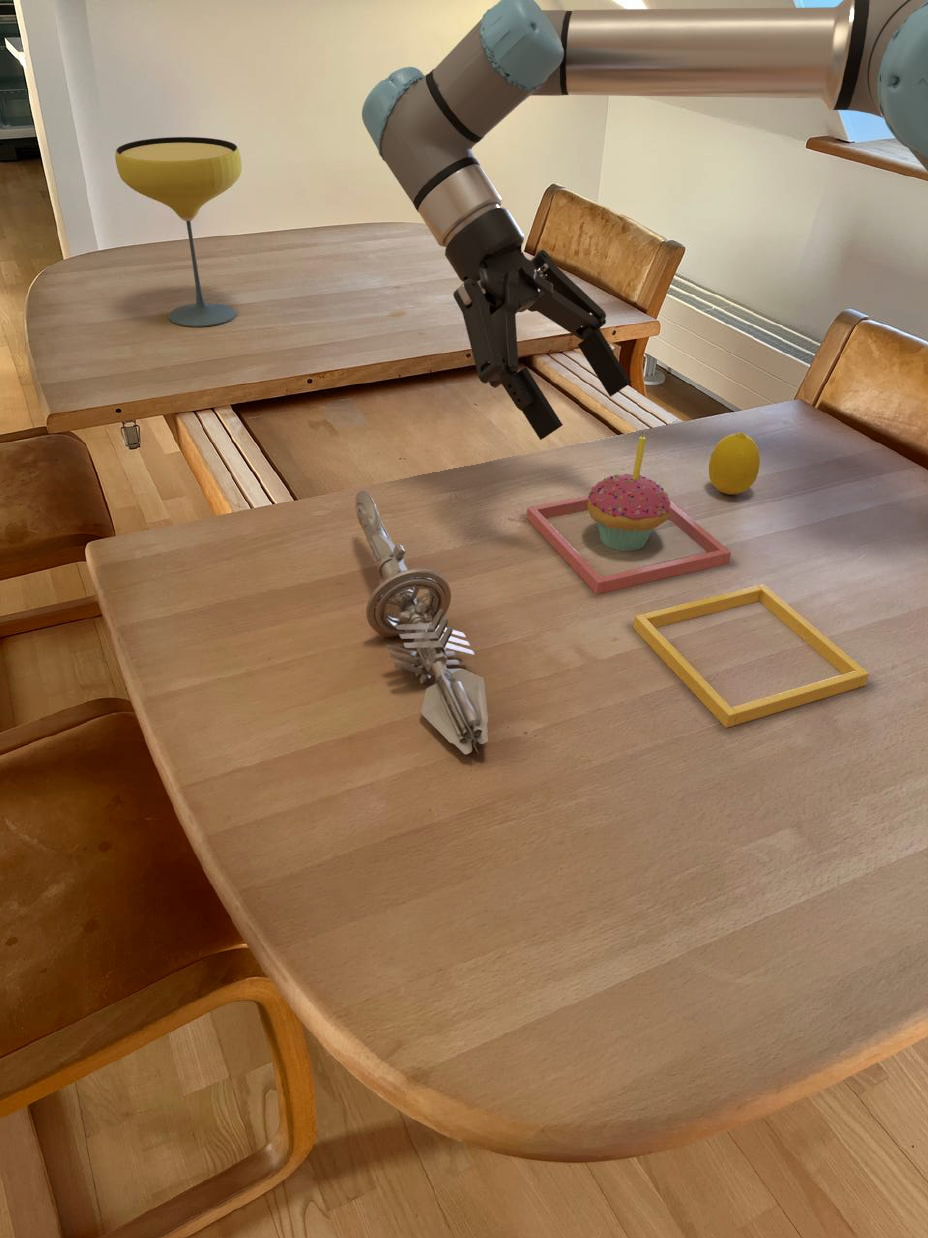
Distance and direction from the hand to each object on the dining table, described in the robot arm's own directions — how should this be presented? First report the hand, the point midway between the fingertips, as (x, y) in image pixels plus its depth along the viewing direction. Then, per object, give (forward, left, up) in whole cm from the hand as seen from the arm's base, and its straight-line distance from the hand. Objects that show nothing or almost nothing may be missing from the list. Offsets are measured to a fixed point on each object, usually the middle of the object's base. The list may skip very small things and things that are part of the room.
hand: (588, 410), depth 95 cm
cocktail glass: (+26, -81, -14) cm, 86 cm away
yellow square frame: (-3, +26, -14) cm, 30 cm away
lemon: (-20, 0, -14) cm, 24 cm away
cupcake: (-3, +5, -13) cm, 15 cm away
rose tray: (-3, +5, -14) cm, 15 cm away
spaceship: (+24, +12, -14) cm, 30 cm away
